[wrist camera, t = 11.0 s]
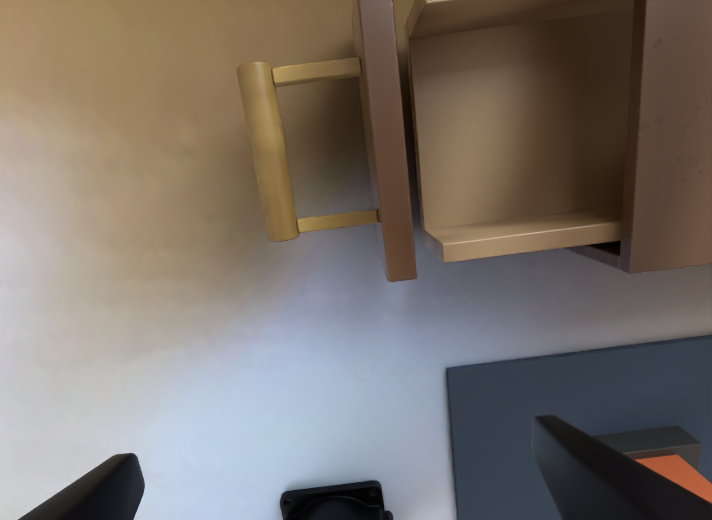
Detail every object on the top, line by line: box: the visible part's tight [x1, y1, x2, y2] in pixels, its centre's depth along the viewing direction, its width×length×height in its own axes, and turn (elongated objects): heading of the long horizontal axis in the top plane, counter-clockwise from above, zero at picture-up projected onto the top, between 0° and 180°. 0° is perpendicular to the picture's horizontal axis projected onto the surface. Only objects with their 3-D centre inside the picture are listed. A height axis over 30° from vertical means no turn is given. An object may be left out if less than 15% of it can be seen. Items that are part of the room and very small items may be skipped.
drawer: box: [236, 0, 634, 282], centre depth 16 cm, size 18×11×5 cm, turn 97°
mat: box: [447, 335, 712, 520], centre depth 23 cm, size 22×15×1 cm
